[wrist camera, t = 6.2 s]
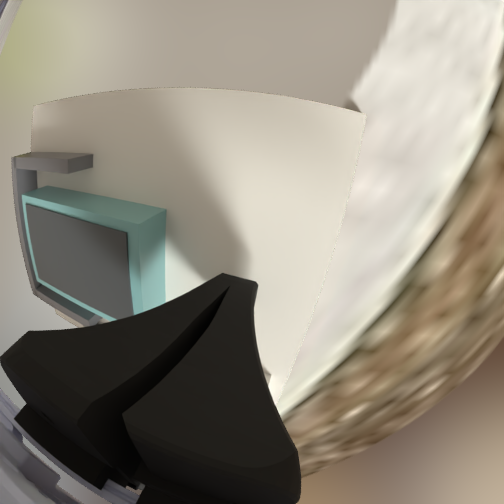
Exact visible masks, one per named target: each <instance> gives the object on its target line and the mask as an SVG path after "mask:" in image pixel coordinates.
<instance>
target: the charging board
mask: <svg viewBox="0 0 504 504" xmlns="http://www.w3.org/2000/svg"><path fill="white" fill-rule="evenodd" d="M366 117H367V114H363V113H360V112H356V111H353V110H349V109H345V108H341V107H337V106H333V105H329V104H324V103H320V102H315V101H310V100H305V99H300V98H294V97H288V96H282V95H275V94H268V93H260V92H251V91H242V90H231V89H230V90H229V89H215V88H145V89H132V90H131V89H130V90H120V91H110V92H102V93H94V94H88V95H82V96H76V97H71V98H66V99H61V100H56V101H51V102H47V103H43V104H39V105H35V106H34V108H33V119H32V137H31V138H32V139H31V152H30V153H26V154H23V155H19V156H15V157H12V181H13V194H14V204H15V212H16V219H17V225H18V232H19V237H20V243H21V248H22V252H23V257H24V261H25V266H26V270H27V273H28V277H29V281H30V284H31V288H32V291H33V294H34V295H36V296H37V297H39V298H40V299H41V300H43V301H44V302H46V303H48V304H49V305H51V306H52V307H54V308H55V311H56V313H57V315H59V316H61V317H62V318H64V319H65V320H67V321H69V322H70V323H72V324H74V325H75V326H77V327H79V328H80V327H87V326H93V325H98V324H103V323H107V322H111V321H109V320H107V319H105V318H103V317H101V316H99V315H97V314H95V313H93V312H91V311H89V310H87V309H85V308H83V307H81V306H79V305H78V304H76V303H74V302H72V301H70V300H68V299H67V298H65V297H63V296H61V295H60V294H58V293H56V292H54V291H53V290H51V289H49V288H48V287H46V286H44V285H43V284H41V283H39V282H38V281H37V279H36V275H35V271H34V267H33V263H32V259H31V254H30V249H29V244H28V238H27V233H26V226H25V219H24V212H23V203H22V194H25V193H27V192H30V191H33V190H35V189H38V188H41V187H44V186H53V187H58V188H64V189H69V190H74V191H80V192H85V193H90V194H95V195H100V196H106V197H111V198H116V199H121V200H125V201H130V202H135V203H140V204H145V205H150V206H154V207H159V208H164V209H167V210H166V237H165V295H166V302H168V301H170V300H173V299H175V298H177V297H179V296H181V295H183V294H185V293H187V292H189V291H191V290H192V289H194V288H196V287H198V286H200V285H201V284H203V283H205V282H207V281H209V280H210V279H212V278H214V277H216V276H217V275H219V274H221V273H225V274H229V275H233V276H237V277H241V278H244V279H248V280H252V281H256V282H257V284H258V290H257V296H256V301H255V306H254V323H255V332H256V340H257V346H258V351H259V356H260V360H261V364H262V368H263V372H264V375H265V378H266V381H267V384H268V387H269V390H270V393H271V395H272V398H273V401H274V404H275V406H276V405H277V403H278V400H279V398H280V396H281V394H282V391H283V389H284V387H285V384H286V382H287V380H288V377H289V375H290V372H291V370H292V368H293V365H294V363H295V360H296V358H297V355H298V353H299V350H300V348H301V345H302V342H303V340H304V337H305V335H306V332H307V329H308V327H309V324H310V321H311V318H312V316H313V313H314V310H315V307H316V304H317V302H318V299H319V296H320V293H321V290H322V287H323V284H324V281H325V278H326V275H327V272H328V268H329V265H330V262H331V259H332V256H333V252H334V249H335V246H336V242H337V239H338V235H339V232H340V228H341V225H342V221H343V218H344V214H345V210H346V207H347V203H348V199H349V195H350V191H351V187H352V183H353V179H354V174H355V170H356V166H357V161H358V157H359V152H360V148H361V143H362V138H363V133H364V128H365V122H366Z"/></svg>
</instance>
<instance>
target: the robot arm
mask: <svg viewBox="0 0 504 504" xmlns="http://www.w3.org/2000/svg"><path fill="white" fill-rule="evenodd" d="M257 290H258V284H257V282H256V281H252V280H248V279H244V278H241V277H237V276H233V275H229V274H225V273H221V274H219V275H217V276H216V277H214V278H212V279H210V280H209V281H207V282H205V283H203V284H201V285H200V286H198V287H196V288H194V289H192V290H191V291H189V292H187V293H185V294H183V295H181V296H179V297H177V298H175V299H173V300H170V301H168V302H166V303H164V304H162V305H160V306H157V307H155V308H152V309H150V310H147V311H144V312H141V313H139V314H136V315H133V316H130V317H126V318H122V319H118V320H115V321H111V322H107V323H103V324H98V325H93V326H87V327H80V328H74V329H64V330H46V331H28V332H27V333H26V334H24V335H23V336H22V337H21V338H20V339H19V340H18V341H17V342H16V343H15V344H13V345H12V346H11V347H10V348H9V349H8V350H7V351H6V352H5V353H4V354H3V355H2V356H1V357H0V363H1V366H2V368H3V370H4V371H5V373H6V375H7V376H8V378H9V379H10V381H11V382H12V384H13V385H14V387H15V388H16V390H17V391H18V392H19V394H20V395H21V396H22V398H23V399H24V400H25V402H26V403H27V404H26V405H25V406H24V407H23V408H22V409H21V410H20V409H19V408H18V407H17V406H16V405H15V404H14V403H13V402H12V401H11V400H10V398H8V396H7V395H6V394H5V393H4V392H3V391H2V390H1V388H0V504H84V503H82V502H81V501H79V500H77V499H76V498H74V497H73V496H72V495H70V494H69V493H68V492H66V491H65V490H63V489H62V488H61V487H59V486H58V485H57V482H58V481H59V480H60V475H59V474H57V473H56V472H55V471H54V470H53V469H52V468H51V467H50V466H48V465H47V464H46V463H45V462H44V461H42V460H41V459H40V458H39V457H38V456H37V455H35V454H34V453H33V452H32V451H31V450H30V449H29V448H28V447H26V446H25V445H24V444H23V441H22V440H23V437H22V435H23V436H24V437H25V438H26V439H28V441H29V442H30V443H32V444H33V445H34V446H35V447H36V448H37V449H38V450H39V451H40V452H41V453H42V454H44V455H45V456H46V457H47V458H48V459H49V460H51V461H52V462H53V463H54V464H55V465H57V466H58V467H59V468H60V469H62V470H63V471H64V472H66V473H67V474H68V475H70V476H71V477H72V478H74V479H75V480H76V481H78V482H79V483H81V484H82V485H84V486H85V487H87V488H88V489H90V490H91V491H93V492H94V493H96V494H97V495H99V496H100V497H102V498H104V499H106V500H107V501H109V502H111V503H112V504H296V503H297V502H298V501H299V499H300V494H301V472H300V464H299V457H298V451H297V449H296V447H295V445H294V443H293V441H292V439H291V438H290V436H289V434H288V432H287V430H286V428H285V426H284V424H283V422H282V420H281V417H280V415H279V413H278V411H277V408H276V406H275V404H274V401H273V398H272V395H271V393H270V390H269V387H268V384H267V381H266V378H265V375H264V372H263V368H262V364H261V360H260V356H259V351H258V346H257V340H256V332H255V323H254V306H255V301H256V296H257ZM126 486H129V487H131V488H133V489H135V490H137V489H140V490H142V493H141V494H140V495H137V494H136V493H134V492H132V491H130V490H128V489H126Z"/></svg>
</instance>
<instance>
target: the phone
mask: <svg viewBox="0 0 504 504" xmlns="http://www.w3.org/2000/svg"><path fill="white" fill-rule="evenodd" d="M22 203H23V212H24V219H25V226H26V233H27V238H28V244H29V249H30V254H31V259H32V263H33V267H34V271H35V275H36V279H37V281H38V282H39V283H41V284H43V285H44V286H46V287H48V288H49V289H51V290H53V291H54V292H56V293H58V294H60V295H61V296H63V297H65V298H67V299H68V300H70V301H72V302H74V303H76V304H78V305H79V306H81V307H83V308H85V309H87V310H89V311H91V312H93V313H95V314H97V315H99V316H101V317H103V318H105V319H107V320H109V321H115V320H118V319H122V318H126V317H130V316H133V315H136V314H139V313H141V312H144V311H147V310H150V309H152V308H155V307H157V306H160V305H162V304H164V303H166V295H165V237H166V210H167V209H164V208H159V207H154V206H150V205H145V204H140V203H135V202H130V201H125V200H121V199H116V198H111V197H106V196H100V195H95V194H90V193H85V192H80V191H74V190H69V189H64V188H58V187H53V186H44V187H41V188H38V189H35V190H33V191H30V192H27V193H25V194H22Z"/></svg>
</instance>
